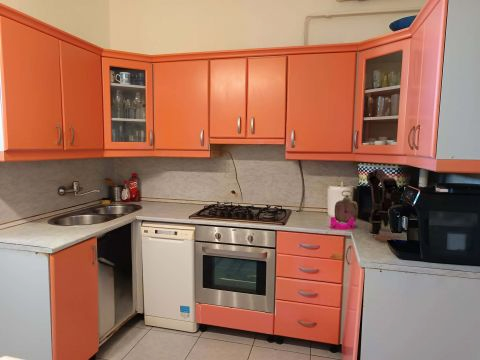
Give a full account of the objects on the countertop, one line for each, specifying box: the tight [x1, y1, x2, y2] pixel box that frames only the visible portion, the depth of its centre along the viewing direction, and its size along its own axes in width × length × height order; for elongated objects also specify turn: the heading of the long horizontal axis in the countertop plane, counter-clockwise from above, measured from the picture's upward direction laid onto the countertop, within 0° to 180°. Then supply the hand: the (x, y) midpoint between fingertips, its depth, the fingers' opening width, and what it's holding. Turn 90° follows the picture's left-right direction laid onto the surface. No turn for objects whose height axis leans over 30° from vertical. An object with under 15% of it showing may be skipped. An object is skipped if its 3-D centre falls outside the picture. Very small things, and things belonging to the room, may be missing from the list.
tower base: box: [374, 233, 397, 243], centre depth 186 cm, size 9×9×3 cm
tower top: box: [379, 228, 395, 238], centre depth 186 cm, size 7×7×3 cm
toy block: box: [330, 216, 355, 231], centre depth 212 cm, size 15×6×8 cm, turn 77°
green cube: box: [382, 220, 391, 230], centre depth 185 cm, size 4×4×4 cm
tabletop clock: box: [334, 190, 359, 228], centre depth 219 cm, size 14×9×25 cm, turn 61°
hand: (386, 225), depth 185 cm, fingers closed on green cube, 4 cm apart
